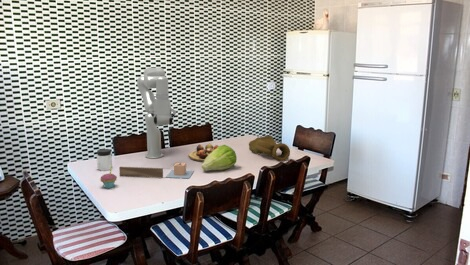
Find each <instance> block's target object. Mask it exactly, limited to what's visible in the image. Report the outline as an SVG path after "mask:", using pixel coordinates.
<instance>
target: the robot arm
mask: <svg viewBox="0 0 470 265" xmlns="http://www.w3.org/2000/svg"><path fill="white" fill-rule="evenodd" d="M136 83H137V89H138V91H139V93H140V95H141V97H142V101H143V106H144V110H145V112H146V114H145V115H144V121H145V126H146V129H145V130H146V143H147V144H146V146H147V148H146V149H147V153H146V154H145V155H144V156H145V158H147V159H160V158H163V157H164V153H162V141H161V138H162V134H161V130H160V129H159V128H158V127H159V126H160V127H161V126H168V125H172V124H173V118H174V117H175V116H176V114H177V110H175V109H173V108H172V104H171V100H170V98H169V97H170V96H169V78H168V77H167V76H166V71H165V70H164V68H163V67H147V68H145V69H144V70H143V76H139V77H138V78H137V81H136ZM150 89H155V92H156V93H155V94H154V92H152V91H151V90H150Z"/></svg>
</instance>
